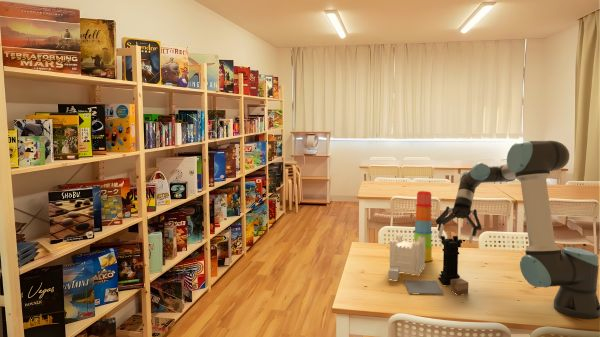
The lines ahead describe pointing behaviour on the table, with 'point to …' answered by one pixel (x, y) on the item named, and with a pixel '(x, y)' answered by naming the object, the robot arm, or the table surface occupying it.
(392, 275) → the grey plastic box
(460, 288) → the walnut cube
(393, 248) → the castle model
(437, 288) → the felt mat
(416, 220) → the stacking cups
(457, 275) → the chess piece
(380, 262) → the table surface
